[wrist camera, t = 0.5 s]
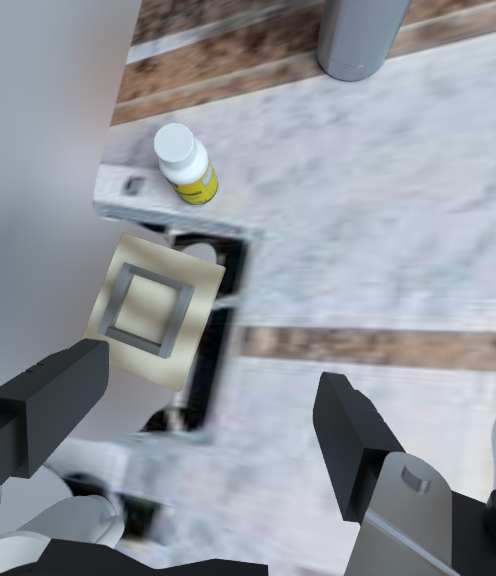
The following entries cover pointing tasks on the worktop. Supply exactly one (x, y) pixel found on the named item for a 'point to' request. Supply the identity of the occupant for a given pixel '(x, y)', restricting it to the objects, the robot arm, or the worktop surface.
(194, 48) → the worktop surface
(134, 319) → the seat board
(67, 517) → the teacup
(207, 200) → the supplement bottle
